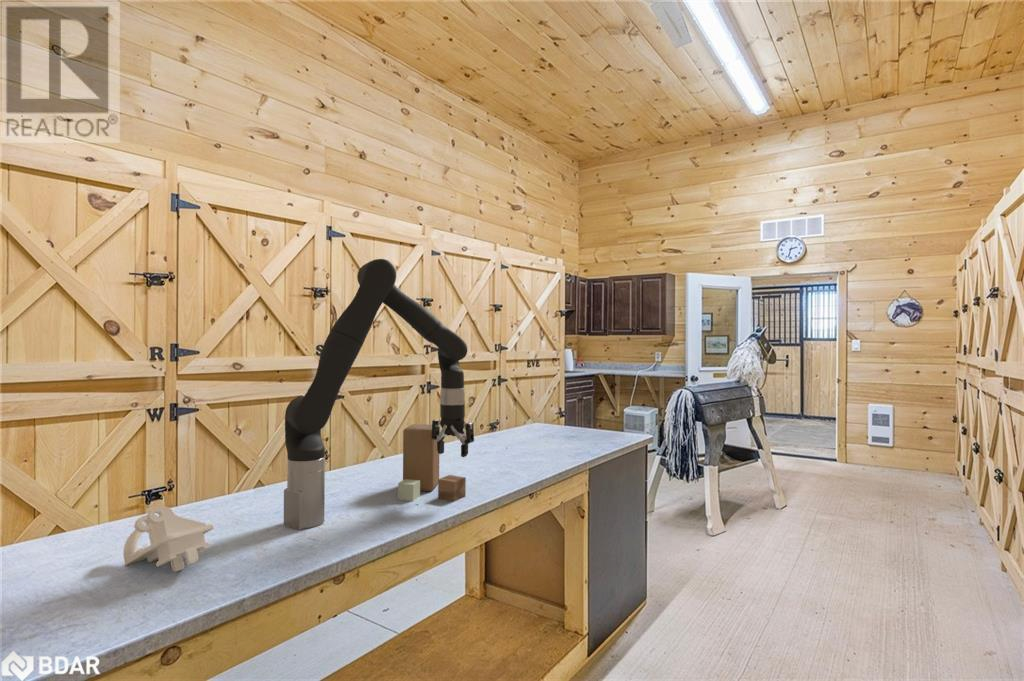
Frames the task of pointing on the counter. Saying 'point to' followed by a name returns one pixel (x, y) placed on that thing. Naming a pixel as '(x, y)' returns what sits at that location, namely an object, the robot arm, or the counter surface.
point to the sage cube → (409, 490)
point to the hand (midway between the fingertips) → (452, 455)
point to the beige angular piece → (167, 539)
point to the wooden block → (420, 456)
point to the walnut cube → (451, 488)
